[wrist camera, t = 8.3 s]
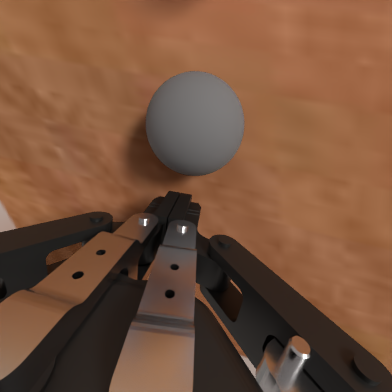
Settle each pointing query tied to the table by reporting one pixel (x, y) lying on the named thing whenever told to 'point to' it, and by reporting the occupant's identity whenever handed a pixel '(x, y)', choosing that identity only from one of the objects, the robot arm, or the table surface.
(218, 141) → the grey ball
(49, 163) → the table surface
